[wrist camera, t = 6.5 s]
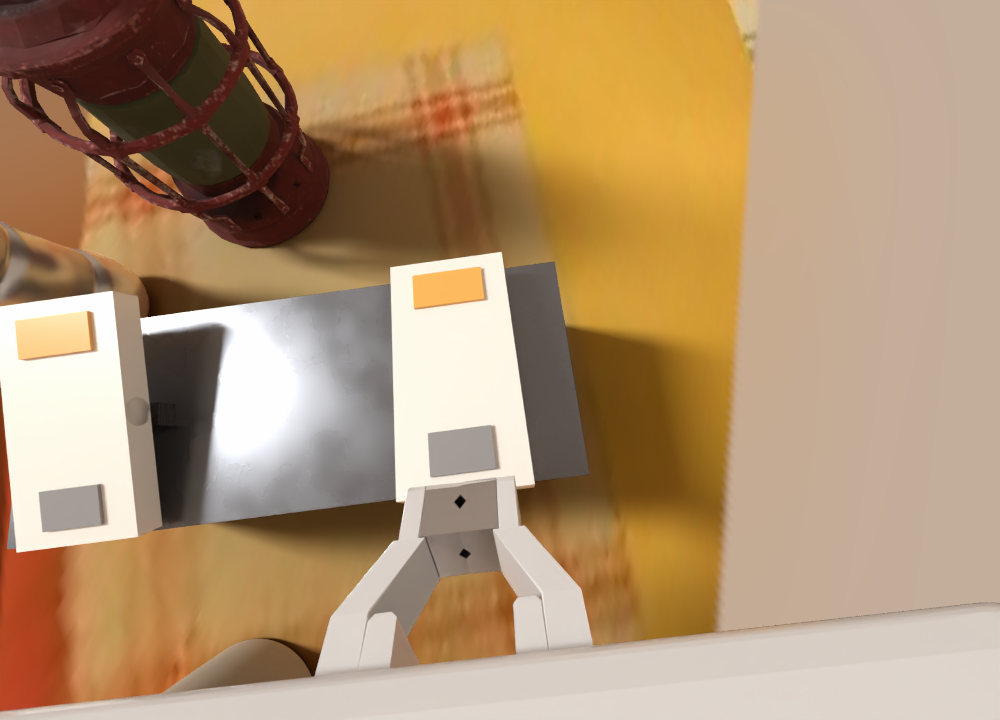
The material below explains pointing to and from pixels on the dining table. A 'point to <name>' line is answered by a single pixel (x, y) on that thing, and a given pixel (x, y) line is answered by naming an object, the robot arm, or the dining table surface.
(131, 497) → the block
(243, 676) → the travel mug
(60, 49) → the lantern
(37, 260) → the silver tall rounded piece
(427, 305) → the rocker on
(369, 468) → the switch box
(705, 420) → the dining table surface
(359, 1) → the dining table surface
